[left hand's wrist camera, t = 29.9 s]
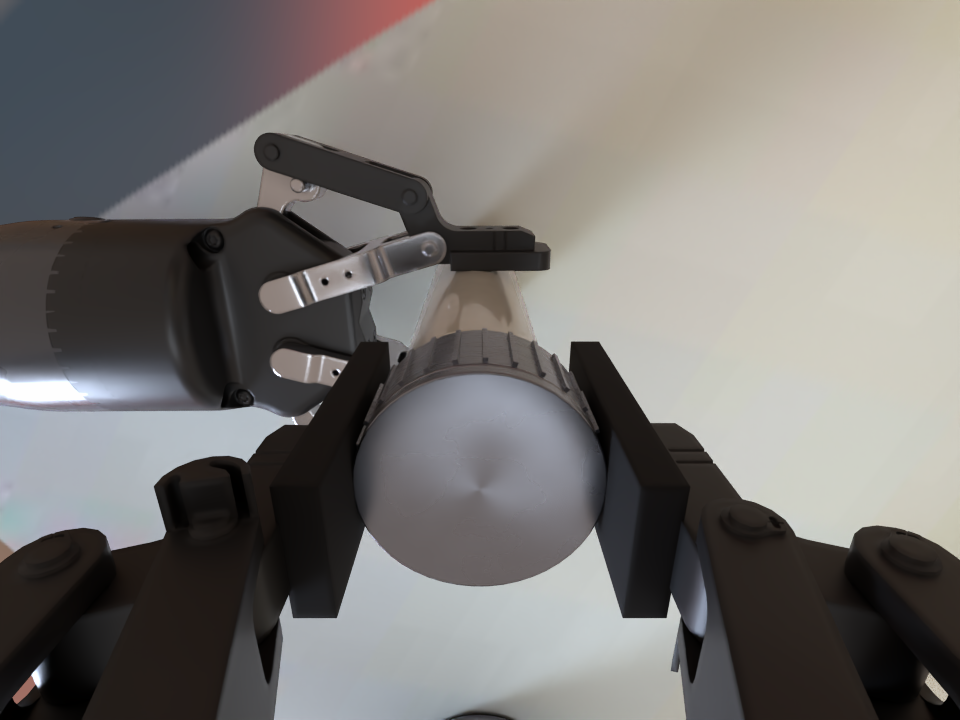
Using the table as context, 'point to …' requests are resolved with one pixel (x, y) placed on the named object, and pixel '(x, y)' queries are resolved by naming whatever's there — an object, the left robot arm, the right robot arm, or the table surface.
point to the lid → (479, 460)
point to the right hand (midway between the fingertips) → (542, 314)
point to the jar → (472, 305)
